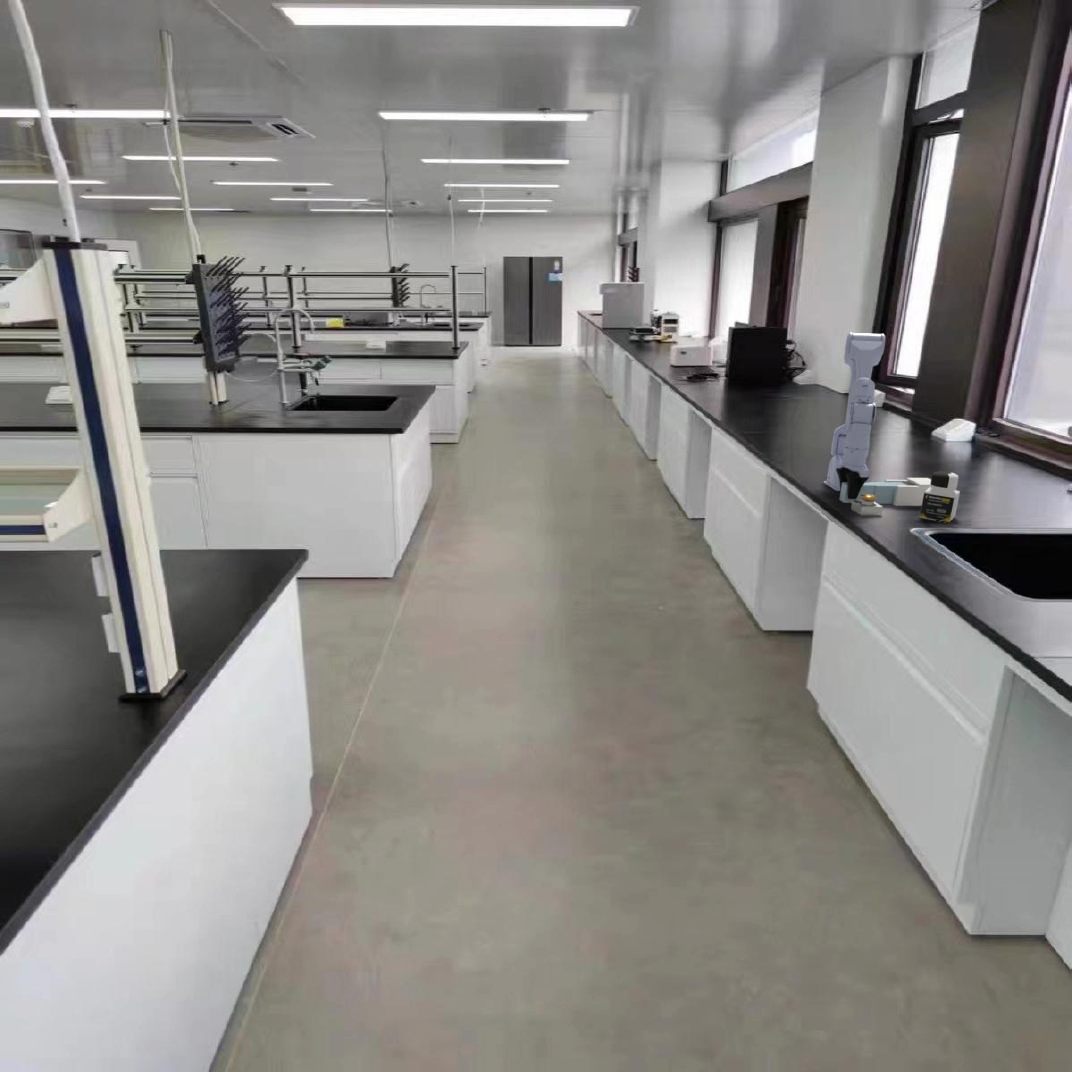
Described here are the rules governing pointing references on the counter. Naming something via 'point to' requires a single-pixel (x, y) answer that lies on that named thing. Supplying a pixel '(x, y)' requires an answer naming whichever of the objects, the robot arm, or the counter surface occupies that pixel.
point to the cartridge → (873, 491)
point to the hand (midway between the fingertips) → (848, 496)
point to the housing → (910, 491)
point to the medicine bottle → (941, 497)
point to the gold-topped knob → (868, 499)
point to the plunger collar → (866, 508)
